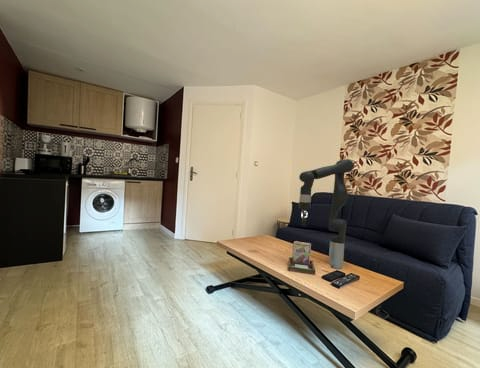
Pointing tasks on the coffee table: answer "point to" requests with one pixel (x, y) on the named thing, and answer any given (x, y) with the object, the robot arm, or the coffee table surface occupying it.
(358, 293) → the coffee table surface
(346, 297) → the coffee table surface
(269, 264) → the coffee table surface
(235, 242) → the coffee table surface
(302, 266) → the sage offcut
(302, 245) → the candy bar box
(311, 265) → the tray
